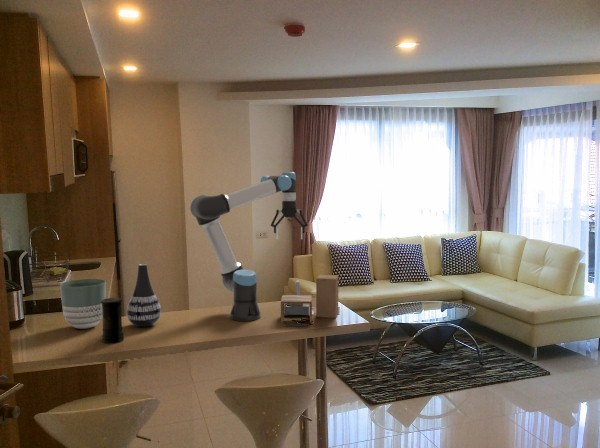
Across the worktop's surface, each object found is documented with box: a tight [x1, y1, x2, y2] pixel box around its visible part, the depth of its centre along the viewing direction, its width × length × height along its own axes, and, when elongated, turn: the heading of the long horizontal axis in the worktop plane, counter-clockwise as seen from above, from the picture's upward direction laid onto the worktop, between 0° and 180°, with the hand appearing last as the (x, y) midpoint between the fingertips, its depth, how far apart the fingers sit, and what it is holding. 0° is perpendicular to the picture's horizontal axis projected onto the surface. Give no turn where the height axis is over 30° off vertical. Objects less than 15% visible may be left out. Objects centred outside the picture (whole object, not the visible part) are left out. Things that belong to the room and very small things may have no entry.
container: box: [101, 297, 124, 345], centre depth 223 cm, size 9×9×18 cm
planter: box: [59, 278, 107, 330], centre depth 244 cm, size 20×20×21 cm
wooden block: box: [315, 274, 339, 319], centre depth 263 cm, size 10×10×20 cm
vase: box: [126, 263, 162, 329], centre depth 246 cm, size 16×16×30 cm
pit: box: [285, 322, 308, 328], centre depth 246 cm, size 5×10×1 cm, turn 89°
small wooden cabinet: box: [284, 279, 310, 317], centre depth 274 cm, size 23×12×14 cm, turn 179°
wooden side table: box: [280, 294, 313, 324], centre depth 257 cm, size 14×15×10 cm
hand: (289, 239), depth 283 cm, fingers open, 13 cm apart
